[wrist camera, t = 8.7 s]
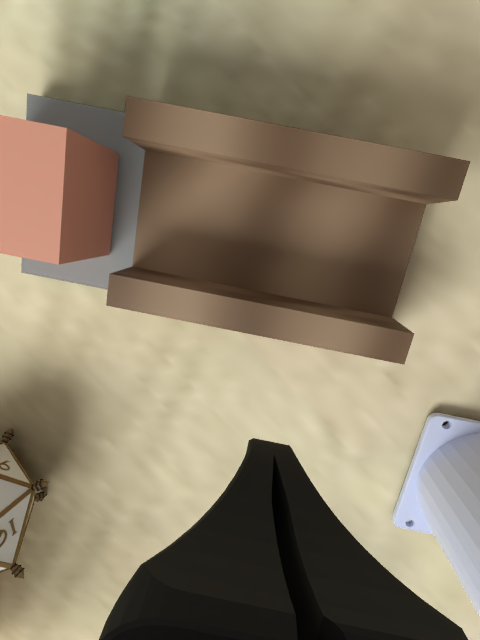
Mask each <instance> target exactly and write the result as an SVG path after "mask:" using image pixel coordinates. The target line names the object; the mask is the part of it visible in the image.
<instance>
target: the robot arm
mask: <svg viewBox="0 0 480 640" xmlns="http://www.w3.org/2000/svg"><path fill="white" fill-rule="evenodd" d="M445 421H448V423H447V425H445V426H442V424H443V422H445ZM392 520H393V522H394V524H395V525H396V526H397V527H399V528H404V529H409V530H414V531H419V532H424V533H428V534H433V535H435V537H436V539H437V541H438V543H439V544H440V546H441V548H442V550H443V552H444V553H445V555H446V557H447V559H448V561H449V563H450V564H451V566H452V568H453V570H454V572H455V573H456V575H457V577H458V579H459V581H460V583H461V584H462V586H463V588H464V590H465V592H466V593H467V595H468V597H469V599H470V601H471V602H472V604H473V606H474V608H475V610H476V612H477V613H478V615H479V617H480V421H477V420H472V419H467V418H462V417H457V416H452V415H447V414H442V413H432V414H431V415H429V416H428V418H427V420H426V423H425V426H424V429H423V431H422V434H421V437H420V440H419V443H418V445H417V448H416V451H415V454H414V457H413V459H412V462H411V465H410V468H409V471H408V473H407V476H406V479H405V482H404V485H403V487H402V490H401V493H400V496H399V499H398V501H397V504H396V507H395V510H394V513H393V515H392ZM408 520H411V521H409V522H406V521H408ZM99 640H468V639H467V637H466V635H465V633H464V632H463V630H462V628H460V627H459V626H458V625H456V624H455V623H454V622H452V621H451V620H450V619H448V618H447V617H445V616H444V615H443V614H441V613H440V612H439V611H437V610H436V609H435V608H433V607H432V606H430V605H429V604H428V603H426V602H425V601H424V600H422V599H421V598H420V597H418V596H417V595H416V594H415V593H414V592H412V591H411V590H410V589H409V588H407V587H406V586H405V585H404V584H403V583H401V582H400V581H399V580H398V579H397V578H396V577H394V576H393V575H392V574H391V573H390V572H389V571H388V570H387V569H385V568H384V567H383V566H382V565H381V564H380V563H379V562H378V561H377V560H376V559H375V558H374V557H373V556H372V555H371V554H370V553H369V552H368V551H367V550H366V549H365V548H364V547H363V546H362V545H361V544H360V543H359V542H358V541H357V540H356V539H355V538H354V537H353V536H352V535H351V533H350V532H349V531H348V530H347V529H346V528H345V527H344V525H343V524H342V523H341V522H340V521H339V520H338V518H337V517H336V516H335V515H334V513H333V512H332V511H331V509H330V508H329V507H328V505H327V504H326V503H325V501H324V500H323V499H322V497H321V496H320V494H319V493H318V491H317V490H316V488H315V487H314V485H313V484H312V482H311V481H310V479H309V477H308V476H307V474H306V472H305V471H304V469H303V467H302V466H301V464H300V462H299V461H298V459H297V457H296V455H295V454H294V452H293V450H292V448H291V447H290V446H289V445H284V444H279V443H274V442H269V441H264V440H259V439H254V438H253V439H251V440H249V443H248V447H247V452H246V455H245V458H244V460H243V462H242V464H241V466H240V467H239V469H238V471H237V473H236V475H235V476H234V478H233V479H232V481H231V482H230V484H229V485H228V487H227V488H226V490H225V491H224V492H223V494H222V495H221V496H220V497H219V499H218V500H217V501H216V502H215V504H214V505H213V506H212V507H211V508H210V509H209V510H208V511H207V512H206V513H205V514H204V516H203V517H202V518H201V519H200V520H199V521H198V522H197V523H196V524H195V525H193V526H192V527H191V528H190V529H189V530H188V531H187V532H185V533H184V534H183V535H182V536H181V537H179V538H178V539H177V540H176V541H175V542H173V543H172V544H171V545H169V546H168V547H167V548H165V549H164V550H162V551H161V552H159V553H158V554H156V555H155V556H153V557H152V558H150V559H149V560H147V561H146V562H144V563H143V564H141V566H140V567H139V568H138V570H137V571H136V572H135V574H134V575H133V577H132V578H131V580H130V581H129V583H128V584H127V586H126V587H125V589H124V590H123V592H122V593H121V595H120V597H119V598H118V600H117V602H116V603H115V605H114V607H113V609H112V611H111V613H110V615H109V617H108V619H107V621H106V623H105V625H104V628H103V631H102V633H101V636H100V638H99Z"/></svg>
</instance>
